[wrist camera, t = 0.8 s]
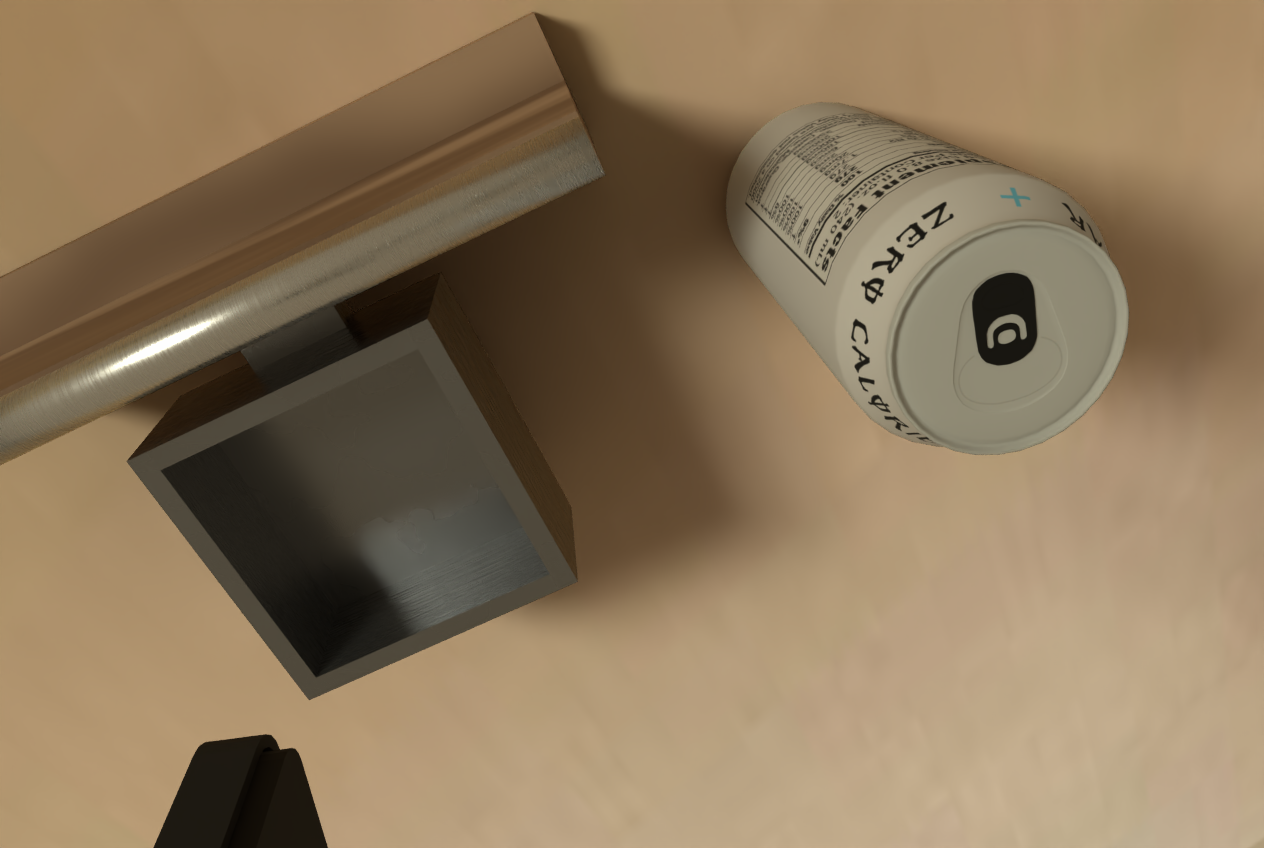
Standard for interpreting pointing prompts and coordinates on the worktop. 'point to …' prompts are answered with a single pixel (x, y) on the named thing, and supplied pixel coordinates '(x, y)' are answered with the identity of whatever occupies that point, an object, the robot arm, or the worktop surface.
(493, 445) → the cup bracket
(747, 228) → the energy drink can
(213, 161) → the worktop surface
